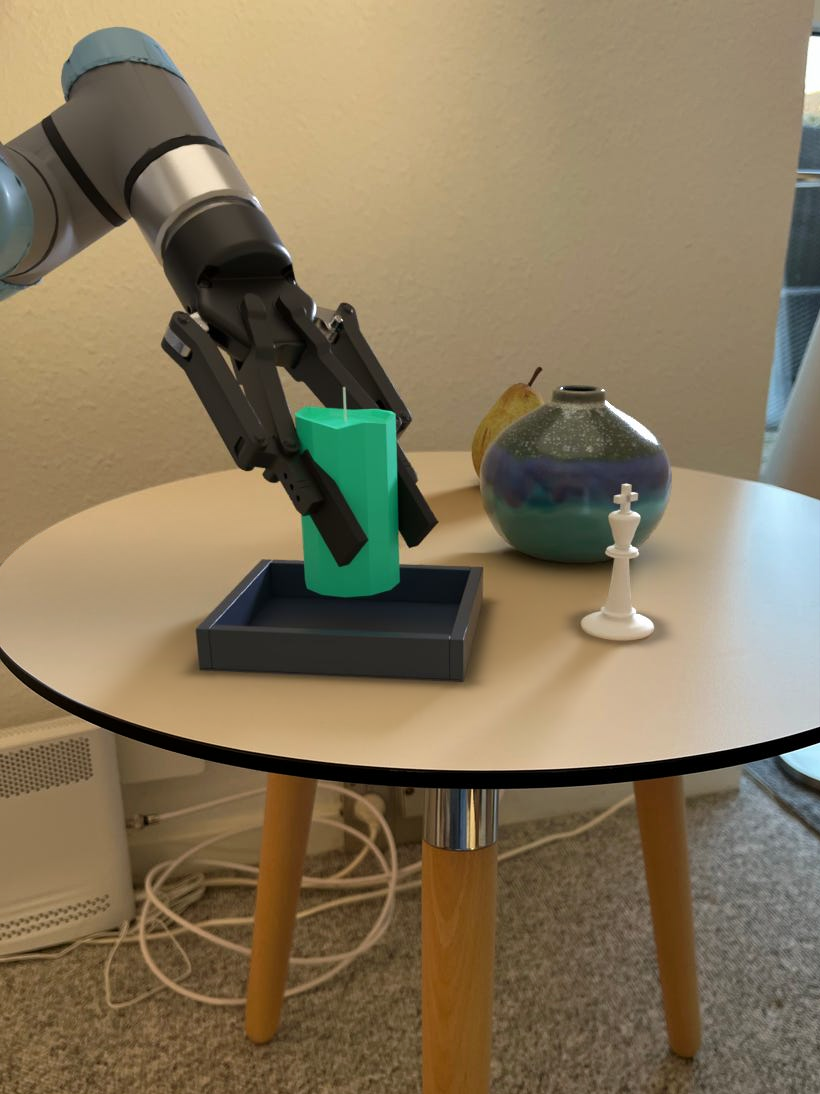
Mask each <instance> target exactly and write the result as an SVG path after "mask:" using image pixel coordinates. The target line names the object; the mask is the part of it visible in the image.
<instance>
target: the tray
mask: <svg viewBox="0 0 820 1094" xmlns="http://www.w3.org/2000/svg"><path fill="white" fill-rule="evenodd" d="M399 569H400V582H399V583H398V584H397V585H396V586H395V587H393V588H392V589H391V590H388V591H385V592H381V593H378V594H374V595H370V596H356V597H338V596H329V595H321V594H319V593H316V592H314V591H312V590H309V589H307V587H306V582H305V571H304V560H296V559H268V558H265V559H264V558H262V559H261V560H260V561H259V562H258V563H257V564H256V565H255V566H254V567H253V568H252V569H251V570H250V571H249V572H248V573H247V574H246V576H244V577H243V578H242V580H241V581H240V582H238V584H237V585H236V586H234V588H233V589H232V590H231V591H230V592H229V593H228V594H227V595H226V596H225V597H224V598H223V599H222V600H221V601H220V603H218V605H217V606H216V607H215V608H214V609H213V610H212V611H211V612H210V613H209V614H208V615H207V616H206V617H205V618H204V619H203V621H201V623H200V624H199V625H198V626H197V627H196V628H195V638H196V647H197V648H196V649H197V657H198V668H199V671H205V672H207V671H208V672H211V671H212V672H226V673H227V672H229V673H230V672H232V673H250V674H251V673H252V674H253V673H254V674H272V675H273V674H277V675H298V676H300V675H301V676H320V677H321V676H322V677H324V676H325V677H342V678H343V677H344V678H347V677H348V678H365V679H388V680H389V679H390V680H411V681H430V682H431V681H432V682H435V681H436V682H455V683H463V682H464V681H465V677H466V673H467V669H468V664H469V660H470V656H471V652H472V648H473V644H474V640H475V636H476V632H477V627H478V624H479V619H480V615H481V611H482V607H483V603H484V567H483V566H468V565H467V566H466V565H465V566H463V565H442V564H441V565H438V564H436V565H435V564H411V563H410V564H409V563H408V564H407V563H399Z"/></svg>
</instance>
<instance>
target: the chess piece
mask: <svg viewBox="0 0 820 1094" xmlns="http://www.w3.org/2000/svg"><path fill="white" fill-rule="evenodd" d="M631 488H632V485H630V484H622V488H621V494H620V495H615V496H614V502H613V503H617V504H620V510H618V511H614V512H612V513H610V514H609V516H608V518H609V523H610V525H611V529H612V534H613V538H614V541H615V544H614V545H613V546H609V547H607V549H606V552H605V553H606V555H608V556H610V557H613V558H614V559H613V565H612V571H611V578H610V583H609V588H608V591H607V592H608V593H607V598H606V601H605V605H603V606H602V607H601V608H600V611H595V612H591V613H589V614H587V615H586V616H584V617H583V618H582V619H581V620H580V627H581V629H582V630H583V632H585V633H587V634H588V635H590V636H592V637H596V638H599V639H602V640H603V639H604V640H610V641H621V642H622V641H623V642H624V641H626V642H627V641H636V640H641V639H645V638H647V637H649V636H650V635H652V634H653V633H654V631H655V624H654V623H653V622H652V620H651V619H650V618H648V617H646V616H644V615H642V614H639V613H637V609H635V608H634V607H633V606H632V593H631V578H630V559H634V558H637V557H638V556H640V552H639V549H638V547H637V548H635V547H632V545H631V541H632V539H633V537H634V534H635V531H636V529H637V526H638V525H639V522H640V519H641V517H640V515H639V514H638V513H636V512H633V511H631V510H630V502H631V501H636V500H638V493H635V492H631Z"/></svg>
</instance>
